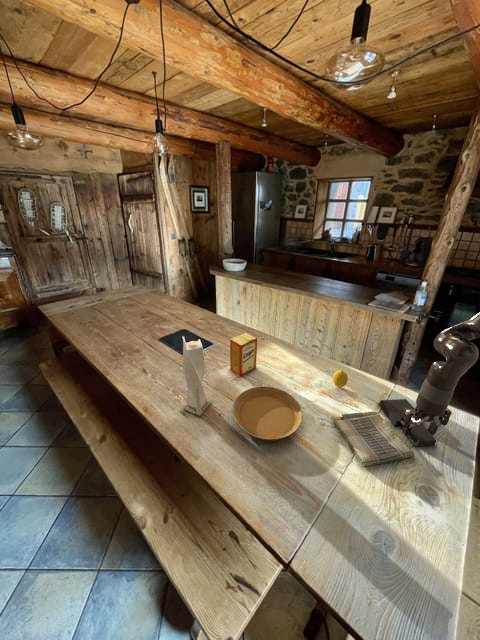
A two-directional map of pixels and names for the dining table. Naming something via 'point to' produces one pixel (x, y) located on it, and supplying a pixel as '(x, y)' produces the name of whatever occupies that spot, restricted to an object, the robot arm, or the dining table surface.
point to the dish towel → (372, 438)
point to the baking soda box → (243, 354)
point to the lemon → (340, 378)
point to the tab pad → (421, 436)
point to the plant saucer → (267, 413)
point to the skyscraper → (194, 376)
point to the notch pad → (395, 409)
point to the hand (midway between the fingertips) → (418, 433)
